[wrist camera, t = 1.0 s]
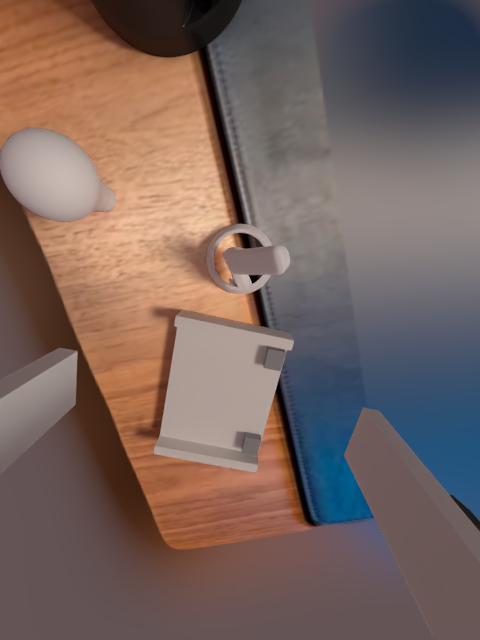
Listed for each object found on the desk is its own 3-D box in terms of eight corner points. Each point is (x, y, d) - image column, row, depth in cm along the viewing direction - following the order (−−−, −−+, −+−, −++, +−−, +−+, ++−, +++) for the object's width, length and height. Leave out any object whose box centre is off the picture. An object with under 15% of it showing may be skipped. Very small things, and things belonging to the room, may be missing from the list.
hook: (342, 272, 23) (297, 315, 20) (258, 275, 33) (220, 305, 30) (319, 189, 20) (262, 227, 17) (234, 220, 30) (188, 247, 27)
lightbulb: (138, 233, 27) (72, 219, 17) (81, 228, 27) (-20, 211, 17) (137, 171, 26) (64, 113, 15) (77, 165, 26) (-37, 103, 15)
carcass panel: (182, 309, 30) (175, 315, 27) (289, 332, 30) (294, 340, 27) (161, 436, 34) (153, 453, 31) (254, 454, 35) (256, 472, 32)
